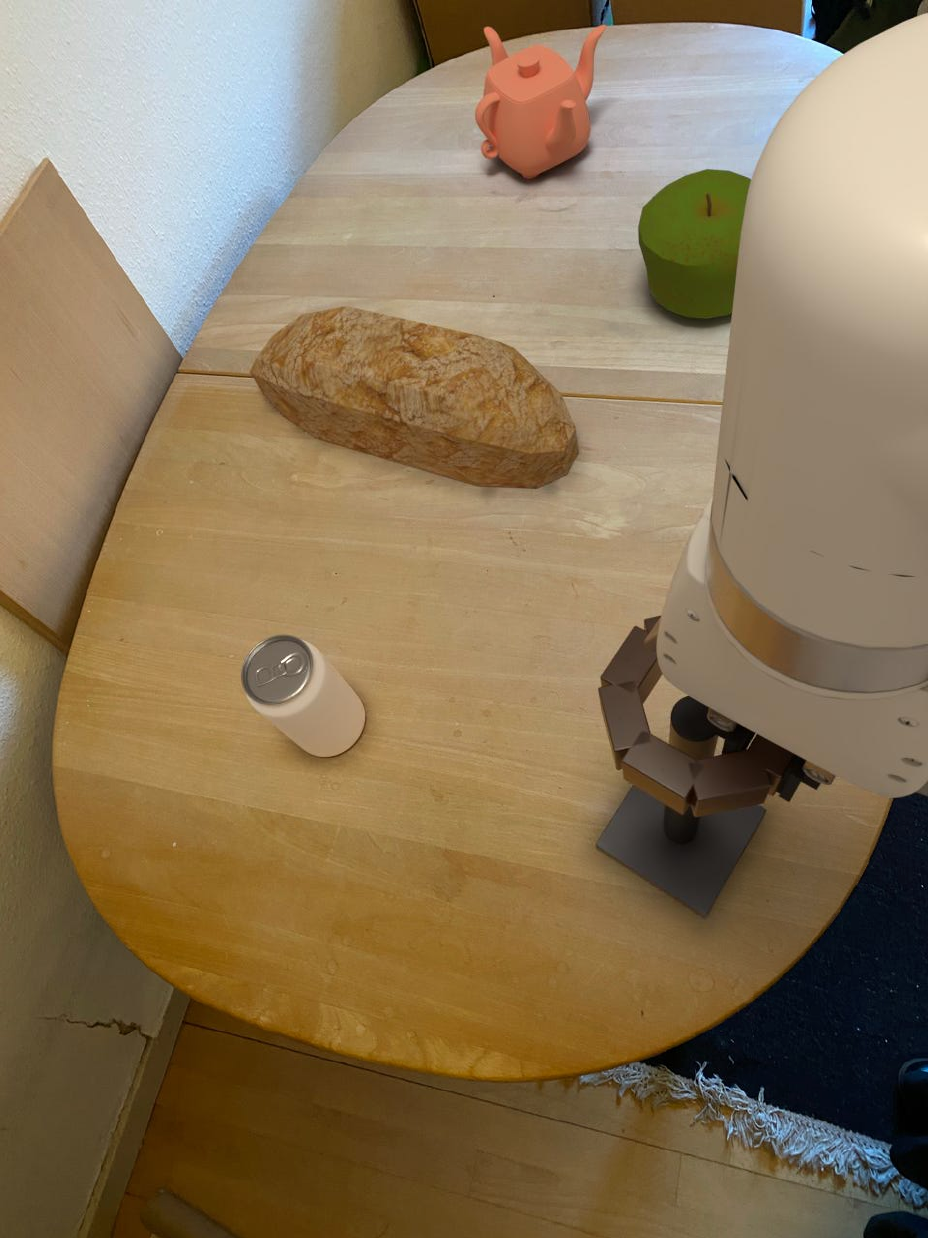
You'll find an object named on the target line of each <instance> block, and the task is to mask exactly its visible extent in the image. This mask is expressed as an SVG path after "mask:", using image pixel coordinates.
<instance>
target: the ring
mask: <svg viewBox="0 0 928 1238" xmlns="http://www.w3.org/2000/svg"><path fill="white" fill-rule="evenodd" d="M659 618H661V614H660V615H657V616H652V617H648V618H645V619H643V628H642V627H640V626H637V625H634V626H633V627H632V629H631V630H630V631H629V633H628V635H627V636H626V638H625V639H624V641H623V642H622V644H621V645H620V647H619V648H618V649H617V651H616V653H615V654H614V656H613V657H612V659H611V660H610V662H609V663H608V665H607V666H606V668H605V669H604V671H603V672H602V673H601V675H600V677H599V678H600V686H599V687H597V691H598V698H599V704H600V711H601V714H602V718H603V723H604V727H605V730H606V734H607V739H608V741H609V746H610V751H611V754H612V758H613V762H614V767H615V769H616V771H621V770H622V777H623V780H624V781H626V782H627V783H629V784H631V785H632V786H633V785H634V786H636V787H637V788H639V789H641V790H642V791H644V792H646V793H647V794H649V795H651V796H652V797H654V798H656V799H657V800H659V801H660V802H662V803H664V804H665V805H667V806H669V807H670V808H672V809H674V810H675V811H677V812H679V813H680V814H682V815H684V814H685V812H686V810H687V809H688V807H689V806H690V804H691V807H692V811H693V814H694V816H695V817H699V816H704V815H709V814H714V813H719V812H724V811H729V810H734V809H739V808H744V807H748V806H753V805H762V804H764V803H765V802H766V799H767V797H768V796H771V797H774V796H775V795H776V793H777V792H776V791H777V789H778V787H779V785H780V783H781V781H782V779H783V776H784V774H785V772H786V770H787V768H788V766H789V764H790V763H791V761H792V759H793V757H794V756H795V754H794V753H792V752H790V751H788V750H787V749H785V748H783V747H781V746H779V745H777V744H775V743H774V742H772V741H770V740H768V739H766V738H764V737H762V736H761V735H759V734H757V733H756V734H755V736H754V737H753V739H752V741H751V742H750V744H749V746H748V748H747V749H746V750H741V751H740V752H737V751H736V752H731V753H727V754H722V755H721V754H717V755H714V756H713V757H708V758H703V759H698V760H696V759H694V758H693V757H691V756H689V755H687V754H686V753H684V752H682V751H680V750H679V749H677V748H675V747H673V746H672V745H670V744H669V742H666V741H664V740H663V739H661V738H659V737H658V736H656V735H654V734H653V733H652V732H651V729H650V726H649V722H648V718H647V714H646V711H645V707H644V704H645V703H646V701H647V699H648V698H649V696H650V694H651V693H652V691H653V690H654V688H655V687H656V685H657V684H658V682H659V681H660V680H661V678H662V676H663V674H662V672H661V669H660V667H659V664H658V659H657V654H655V653H654V652H653V651H651V650H650V649H649V648H648V647H647V646H646V645H645V644H644V641H645V639H646V638H647V636H648V635H649V633H650V632H651V630H652V629H653V627H654V626H655V624H656V623H657V621H658V620H659Z"/></svg>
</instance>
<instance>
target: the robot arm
mask: <svg viewBox="0 0 928 1238" xmlns="http://www.w3.org/2000/svg"><path fill="white" fill-rule="evenodd" d="M750 179H751V182H750V186H749V190H748V194H747V200H746V206H745V212H744V218H743V223H742V229H741V236H740V244H739V254H738V263H737V272H736V282H735V291H734V300H733V310H732V313H731V320H730V328H729V329H730V331H729V339H728V346H727V347H728V349H727V357H726V365H725V366H726V367H725V377H724V384H723V385H724V387H723V394H722V395H723V396H722V404H721V405H722V406H721V415H720V423H719V432H718V433H719V434H718V443H717V451H716V452H717V453H716V461H715V462H716V463H715V472H714V481H713V491H712V495H711V497H710V498H709V500H708V501H707V503H706V505H705V506H704V508H703V510H702V512H701V514H700V516H699V518H698V520H697V521H696V524H695V526H694V528H693V529H692V531H691V534H690V535H689V537H688V539H687V541H686V544H685V546H684V548H683V550H682V553H681V554H680V555H681V556H680V558H679V560H678V562H677V565H676V568H675V570H674V573H673V576H672V578H671V581H670V585H669V588H668V591H667V594H666V597H665V601H664V604H663V608H662V612H661V614H660V615H661V618H659V620H658V621H657V623H656V624H655V626H654V627H653V629H652V630H651V632H650V633H649V635H648V636H647V638H646V639H645V641H644V644H645V645H646V646H647V647H648V648H649V649H650V650H651V651H653V652H654V653H655V654H657V659H658V664H659V667H660V669H661V672H662V676H663V677H664V679H665V680H666V681H667V682H668V683H670V684H671V685H672V686H674V687H675V688H676V689H678V690H679V691H680V692H682V693H683V694H685V695H686V696H690V697H692V698H694V699H695V700H697V701H699V702H701V703H702V704H704V705H706V706H708V707H709V711H708V715H707V717H708V719H709V721H710V722H711V723H712V724H714V725H715V726H717V728H716V733H715V735H717V736H719V737H718V738H721V739H723V740H724V741H723V744H722V749H721V754H720V755H722V754H727V753H731V752H736V751H737V752H740V751H741V750H746V749H748V748H749V746H750V744H751V742H752V741H753V739H754V737H755V736H756V734H759V735H761V736H762V737H764V738H766V739H768V740H770V741H772V742H774V743H775V744H777V745H779V746H781V747H783V748H785V749H787V750H788V751H790V752H792V753H794V754H795V756H794V757H793V759H792V761H791V763H790V764H789V766H788V768H787V770H786V772H785V774H784V776H783V779H782V781H781V783H780V785H779V787H778V789H777V791H776V793H778V794H779V795H778V797H779V798H781V799H782V800H784V801H786V802H787V803H790V802H791V800H792V799H793V797H794V795H795V794H796V792H797V790H798V788H799V787H800V784H801V783H802V784H804V785H806V786H808V787H810V788H811V789H813V790H815V791H818V789H819V787H820V786H821V784H822V785H826V786H830V785H832V784H833V782H834V781H835V779H836V777H838V778H839V779H842V780H844V781H845V782H848V783H849V784H852V785H854V786H855V787H857V788H859V789H862V790H863V791H867V792H869V793H871V794H874V795H877V796H879V797H882V798H887V799H896V798H904V797H906V796H910V795H912V794H914V793H917V794H919V795H922V796H924V797H927V798H928V12H926V13H922V14H920V15H917V16H914V17H913V18H910V19H907V20H905V21H902V22H901V23H898V24H897V25H894V26H893V27H891V28H888V29H886V30H884V31H882V32H879V34H877V35H874V36H872V37H870V38H869V39H867V40H864V41H863V42H860V43H859V44H857V45H856V46H854V47H852V48H851V49H849V50H848V51H847V52H845V53H843V54H842V55H840V56H839V57H838V58H836V59H834V60H832V62H831V63H829V65H827V66H826V67H825V68H824V69H823V70H822V71H821V72H820V73H818V74H817V76H815V77H814V78H813V79H812V80H811V81H810V82H809V83H808V84H807V85H806V86H805V87H804V88H803V90H801V91H800V93H798V95H796V97H795V98H794V99H793V101H792V102H791V103H790V105H789V106H788V107H787V109H786V110H785V111H784V112H783V114H782V115H781V116H780V117H779V119H778V121H777V123H776V125H775V126H774V128H773V130H772V131H771V133H770V135H769V136H768V138H767V141H766V143H765V145H764V147H763V149H762V151H761V154H760V156H759V158H758V160H757V162H756V165H755V168H754V171H753V173H752V176H751V178H750Z"/></svg>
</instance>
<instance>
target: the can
mask: <svg viewBox="0 0 928 1238" xmlns="http://www.w3.org/2000/svg"><path fill="white" fill-rule="evenodd" d="M240 681H241V685H242V688H243V690H244V692H245V695H246V698H247V700H248V702H249V704H250V706H251V707H253V708H254V709H255V711H256V712H257V713H259V714H260V715H261V716H262V717H263V718H265V719H266V720H267V721H268V722H269V723H271V724H272V725H273V726H274V727H275V728H276V729H278V730H279V731H280V732H281V733H283V734H284V735H285V736H286V737H288V738H289V739H290V740H291V741H292V742H293V743H294V744H296V745H297V746H298V747H300V748H301V749H302V750H303V751H305V753H308V754H309V755H312V756H315V757H319V758H330V757H334V756H338V755H340V754H342V753H344V752H346V751H348V749H350V748H351V747H352V746H353V745H354V744H355V743H356V742H357V741H358V739H359V738H360V736H361V734H362V732H363V730H364V727H365V723H366V711H365V707H364V704H363V702H362V701H361V699H360V697H359V696H358V695H357V693H356V692H355V691H354V689H353V688H352V687H351V686H350V685H349V683H348V682H347V681H346V680H345V679H344V677H343V676H342V675H341V674H340V673H339V672H338V671H337V669H336V668H335V667H334V666H333V665H332V664H331V662H330V661H329V660H328V659H327V658H326V656H325V655H323V653H322V652H321V651H320V650H319V649H318V648H317V647H316V646H315V645H314V644H312V643H310V642H309V641H307V640H304V639H300V638H299V637H297V636H295V635H291V634H275V635H271V636H269V637H267V638H265V639H263V640H261V641H259V642H258V643H256V645H255V646H254V647H253V648H251V650H250V651H249V652H248V653H247V655H246V657H245V659H244V661H243V663H242V666H241V670H240Z"/></svg>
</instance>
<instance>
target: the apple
mask: <svg viewBox="0 0 928 1238" xmlns="http://www.w3.org/2000/svg"><path fill="white" fill-rule="evenodd" d="M750 182H751V178H750V177H748V176H745V175H743V174H739V173H737V172H734V171H732V170H728V169H727V170H725V169H711V168H706V169H703V170H699V171H696V172H693V173H688V174H685V175H683V176H682V177H680V178H678V179H676V180H674V181H672V182H670V183H668V184H666V185H665V186H664V187H663V188H662V189H660V190H659V191H658V192H657V193H656V194H655V195H654V196H653V197H652V198H651V199H650V200H649V201H647V203H646V204H645V205H644V206H642V208H641V212H640V217H639V221H638V226H637V231H638V233H637V234H638V245H639V248H640V249H639V250H640V252H641V256H642V259H643V261H644V262H643V263H644V265H645V270H646V276H647V284H648V288H649V291H650V293H651V295H652V297H653V298H654V301H655V302H657V303H658V304H659V305H661V306H662V307H664V308H665V309H666V310H667V311H669V312H672V313H675V314H676V315H679V316H682V317H685V318H693V319H706V320H707V319H713V318H718V317H719V318H720V317H723V316H724V317H725V316H728V315H730V314H732V310H733V300H734V291H735V282H736V272H737V263H738V254H739V244H740V236H741V229H742V223H743V218H744V212H745V206H746V200H747V194H748V190H749V186H750Z"/></svg>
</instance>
